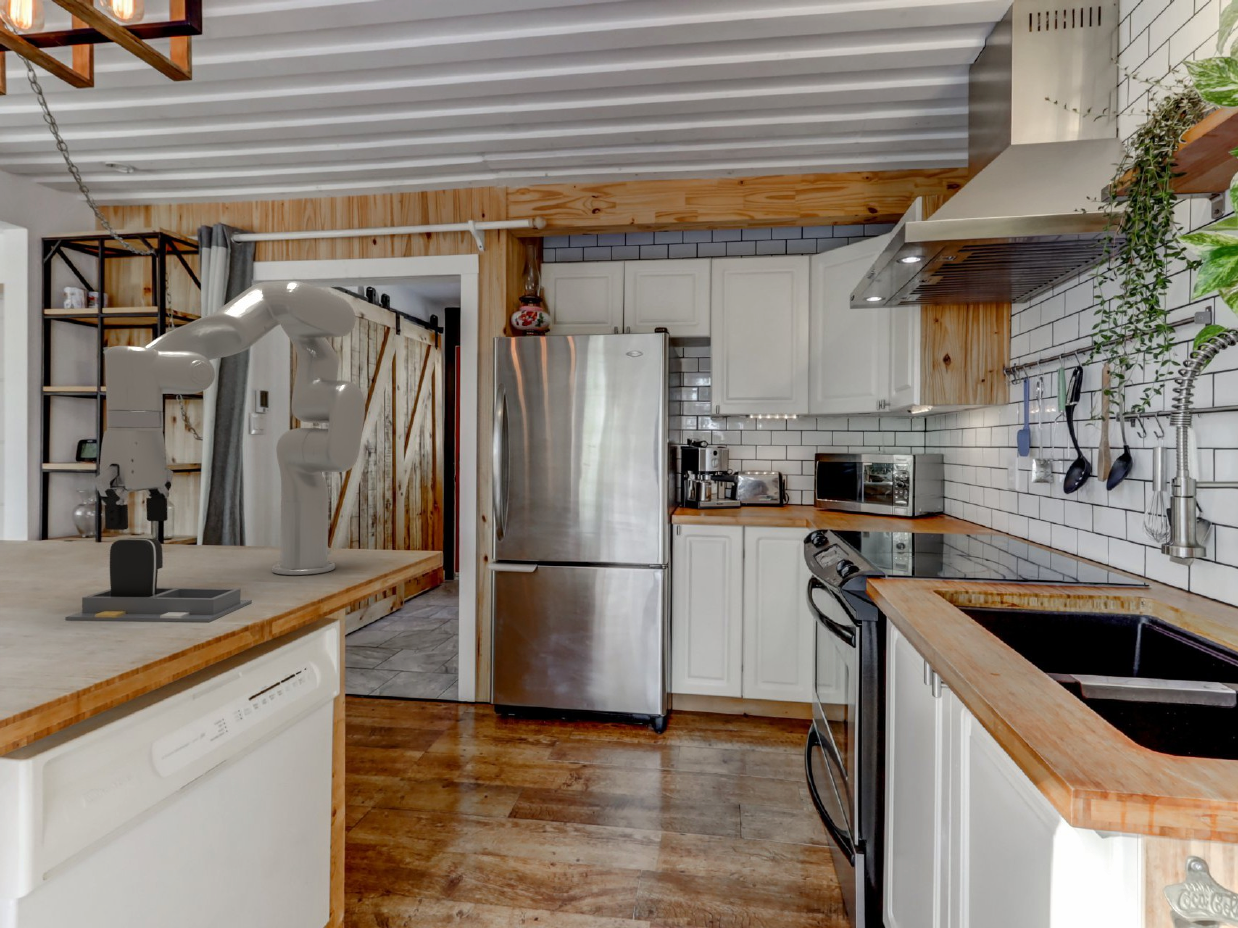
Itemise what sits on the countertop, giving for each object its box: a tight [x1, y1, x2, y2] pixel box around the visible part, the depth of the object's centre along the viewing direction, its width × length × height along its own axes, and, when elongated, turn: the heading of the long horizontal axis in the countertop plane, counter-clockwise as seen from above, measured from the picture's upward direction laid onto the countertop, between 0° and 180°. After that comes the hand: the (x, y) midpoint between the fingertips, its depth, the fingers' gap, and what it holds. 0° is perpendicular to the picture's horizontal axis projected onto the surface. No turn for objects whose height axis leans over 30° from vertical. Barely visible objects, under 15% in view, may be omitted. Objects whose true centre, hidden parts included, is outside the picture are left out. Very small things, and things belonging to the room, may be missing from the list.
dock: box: [64, 587, 253, 623], centre depth 111 cm, size 13×22×3 cm, turn 92°
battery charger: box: [109, 537, 164, 597], centre depth 111 cm, size 7×4×11 cm, turn 92°
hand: (137, 524), depth 111 cm, fingers open, 9 cm apart
